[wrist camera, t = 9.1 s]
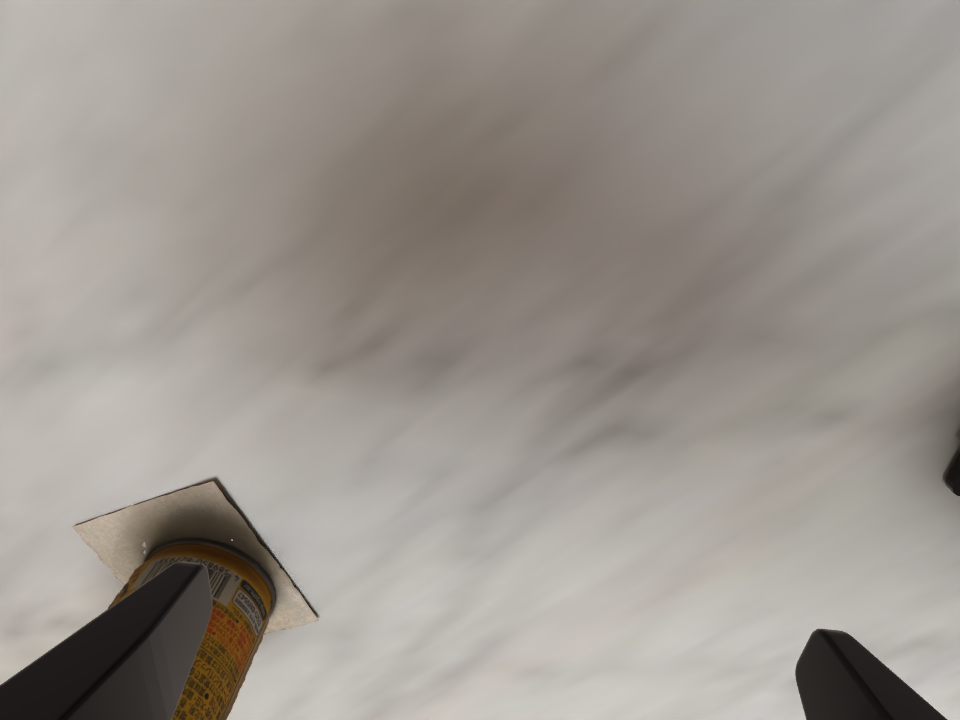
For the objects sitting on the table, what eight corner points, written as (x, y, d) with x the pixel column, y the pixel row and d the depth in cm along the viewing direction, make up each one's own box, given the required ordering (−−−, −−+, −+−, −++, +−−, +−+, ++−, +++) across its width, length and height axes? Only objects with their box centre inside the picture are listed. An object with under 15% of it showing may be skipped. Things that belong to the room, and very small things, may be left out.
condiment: (189, 651, 29) (-2, 1001, 18) (75, 523, 25) (-243, 860, 15) (320, 616, 27) (197, 975, 17) (217, 475, 24) (-22, 812, 13)
